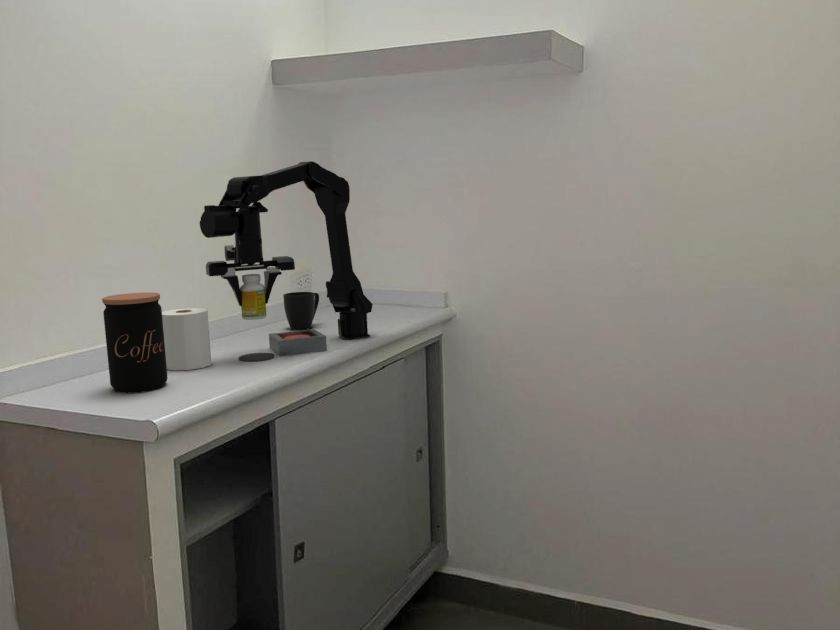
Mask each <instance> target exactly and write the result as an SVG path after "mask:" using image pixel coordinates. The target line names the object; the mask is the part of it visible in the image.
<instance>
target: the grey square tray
mask: <svg viewBox="0 0 840 630" xmlns="http://www.w3.org/2000/svg"><path fill="white" fill-rule="evenodd" d="M291 335H309V336H310V337H301V338H291V339H284V337H286V336H291ZM268 340H269V341H268V343H269V349H270V350H271V351H273V352H274V354H275V355H278V357H284V356H294V355H301V354H310V353H320V352H321V353H322V352H327V351H328V349H327V348H328V347H327V346H328V345H327V344H328V343H327V335H325V334H323V333H322V332H319V331H318V330H316V329H315V328H310V329H307V330H291V331H283V332H272V333H268Z"/></svg>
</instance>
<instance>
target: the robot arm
mask: <svg viewBox="0 0 840 630" xmlns="http://www.w3.org/2000/svg"><path fill="white" fill-rule="evenodd" d="M227 182H228V183H227V185H226V189H225V192H224V194H223V196H222V198H221V200H220V201H219V204H218V205H214V204H213V205H211V204H210V205H209V204H208V205H204V206H203V209H204V210H203V212H202V213H201V216H200V221H199V229H200V232H201V233H202V235H203V237H205V238H208V239H209V238H210V239H211V238H218V237H219V238H221V237H231V236H234V241H235V242H234V244H235V246H234V245H233V244H232V245H224V258H225V260H216V261H215V260H214V261H207V263H206V264H205V273H206V274H205V275H207V276H208V277H220V278H222V279H223V280H226V281H227V282H228V284H229V285H230V287H231V289H232V291H233V295H234V298H236V301H237V303H238V306H239V307H241V306H242V299H241V293H240V287H241V286H240V283H239V282H240V281H239V276H238V275H237V274H236V272H242V271H254V270H264V271H263V277H264V284H263V285H264V288H265V301H266V304H268V303H269V299H270V296H271V293H272V289H273V287H274V284H275V282H276V280H277V277H278V276H280V275H282V273H283V272H282V271H293V270H295V269H296V266H295V259H294V258H293V257H291V256H288V255H284V256H283V255H282V256H280V255H279V256H272V257H271V259H270V260H264V257H263V256H264V251H263V239H262V227H261V215H260V213H261V214H262V213H268V212H269V209H268V208H267V207H265V206H264V205H263V204H262V203H261V202H260V201H261V200H263V199H265V198H266V197H268V196H269V195H270V194H271V193H273V192H274V191H276V190H280V189H282V188H283V189H284V188H286V187H290V186H292V185H295V184H297V183H301V182H303V183H304V185H305V187H306V188H307V189H308V190H309V191H311V192H312V193H313V194H314V196H315V197H314V198H315V200H316V204H317V206H318V208H320V211H321V212H322V214H323V215H324V219H325V227H326V233H327V239H328V246H329V248H328V249H329V254H330V263H331V269H332V274H331V278H330V280H328V281H325V287H326V298H328V300H329V302H330V304H331V305H332V307H333V310H334V313H339V318H338V319H337V331H338V334H337V335H338V337H340V338H342V339H344V340H351V339H353V340H354V339H360V338H361V339H362V338H370V337H371V334H369V331H368V313H371V312H372V310H373V303H372V302H371V300H369V299H368V298H367V296H366V295H365V294H364V291H363V288H362V284H361V281H360V279H359V278H358V276H357V274H355V272H354V270H353V262H352V261H353V260H352V255H351V246H350V239H349V231H348V224H347V218H346V217H347V215H346V212H347V210H348V207H349V204H350V201H351V200H350V199H351V198H350V195H351V194H350V185H349V181H348V180H347V179H345V178H344V177H343V176H338V174H336V173H335V172H332V171H330V170H328V169H326V168H324V167H323V166H321V165H320V164H319V163H317V162H315V161H301V162H299V163H297V164H294V165H291V166H287V167H284V168H281V169H277V170H275V171H271V172H267V173H264V174H261V175H260V174H259V175H249V176H247V175H246V176H237V177H236V176H235V177H231V178H230V179H229V180H228V181H227ZM237 209H238V210H237ZM230 261H231V262H232V261H233V262H232V263H228V262H230Z"/></svg>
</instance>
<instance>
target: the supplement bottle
mask: <svg viewBox="0 0 840 630" xmlns="http://www.w3.org/2000/svg"><path fill="white" fill-rule="evenodd" d="M241 281H242V283H243V284H242V285H241V286H239V287H240V293H241V299H242V306H240V307H241V308H240V309H241V318H242V320H246V321H253V320H254V321H255V320H262V319H266V318H267V305H266V301H265V288H264V284H263V283H261V274H260V273H250V274H247V273H246V274H242V275H241Z"/></svg>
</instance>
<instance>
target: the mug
mask: <svg viewBox="0 0 840 630" xmlns="http://www.w3.org/2000/svg"><path fill="white" fill-rule="evenodd" d="M282 296H283V297H282V298H283V307H284V312H285V316H286V319H287V322H288V325H289V328H290V330H291V331H301V330H311V329H312V326H313V325H312V324H313V321H314V319H315V315H316V313H317V309H318V307H319V302H320V295H319V293H317V292H312V291H295V292H287V293H283V295H282Z"/></svg>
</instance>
